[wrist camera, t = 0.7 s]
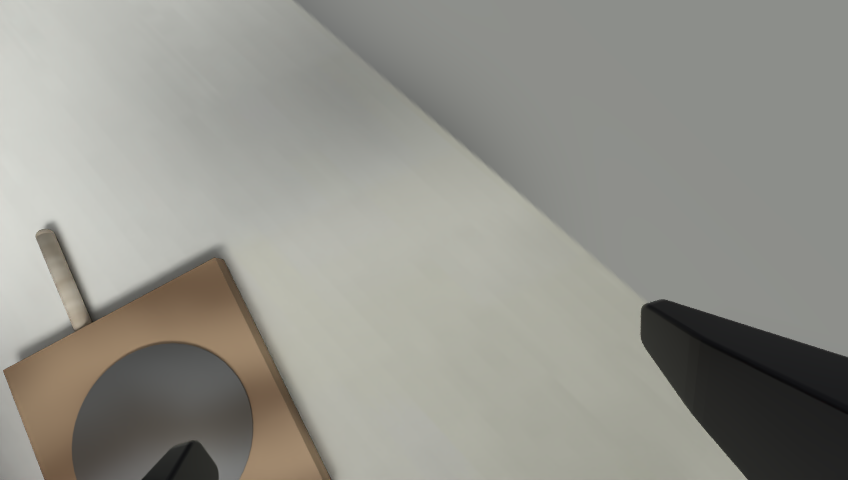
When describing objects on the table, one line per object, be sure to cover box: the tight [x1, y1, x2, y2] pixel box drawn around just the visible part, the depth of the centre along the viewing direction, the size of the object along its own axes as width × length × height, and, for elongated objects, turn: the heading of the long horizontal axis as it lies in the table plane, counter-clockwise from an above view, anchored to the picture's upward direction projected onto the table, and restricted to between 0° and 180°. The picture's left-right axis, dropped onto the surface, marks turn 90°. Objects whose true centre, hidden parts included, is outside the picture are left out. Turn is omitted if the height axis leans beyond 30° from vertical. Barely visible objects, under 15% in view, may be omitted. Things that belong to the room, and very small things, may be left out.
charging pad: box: [3, 229, 331, 480], centre depth 21 cm, size 20×12×1 cm, turn 30°
